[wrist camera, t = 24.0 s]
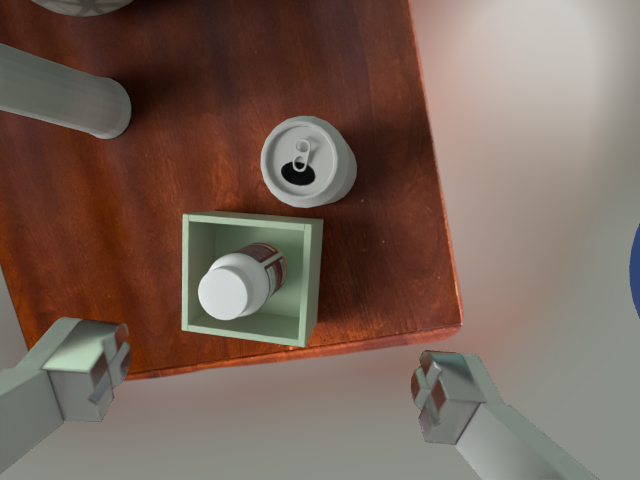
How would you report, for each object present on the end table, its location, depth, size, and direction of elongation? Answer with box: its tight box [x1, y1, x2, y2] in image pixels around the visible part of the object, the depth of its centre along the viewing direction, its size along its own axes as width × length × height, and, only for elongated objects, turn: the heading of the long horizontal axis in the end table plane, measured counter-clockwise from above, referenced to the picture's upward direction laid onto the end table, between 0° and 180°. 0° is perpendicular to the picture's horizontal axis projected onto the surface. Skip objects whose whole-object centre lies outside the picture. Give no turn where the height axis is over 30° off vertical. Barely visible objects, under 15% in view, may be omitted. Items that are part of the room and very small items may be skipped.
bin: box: [182, 211, 323, 347], centre depth 39 cm, size 13×12×7 cm
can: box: [261, 116, 357, 208], centre depth 33 cm, size 8×8×12 cm
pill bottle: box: [198, 242, 288, 320], centre depth 36 cm, size 6×6×11 cm
